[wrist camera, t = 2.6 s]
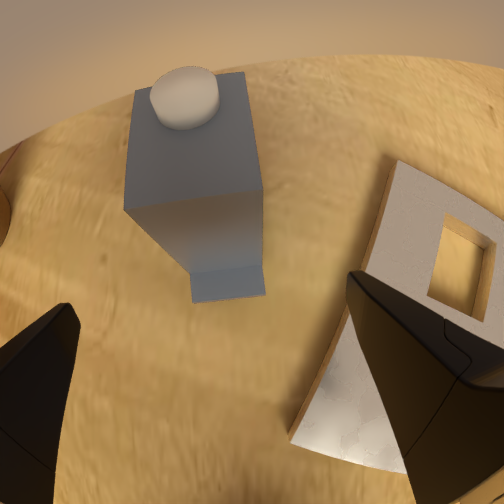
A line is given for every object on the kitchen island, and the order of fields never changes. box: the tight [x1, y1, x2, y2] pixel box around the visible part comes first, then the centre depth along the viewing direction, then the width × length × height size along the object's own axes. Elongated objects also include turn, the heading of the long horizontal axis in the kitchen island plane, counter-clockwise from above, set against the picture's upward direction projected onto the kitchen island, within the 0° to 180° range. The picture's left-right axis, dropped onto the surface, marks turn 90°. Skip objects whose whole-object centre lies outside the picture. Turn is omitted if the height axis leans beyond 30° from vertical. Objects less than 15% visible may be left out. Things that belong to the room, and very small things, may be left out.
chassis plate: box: [287, 160, 504, 474], centre depth 19 cm, size 22×16×2 cm
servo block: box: [124, 66, 266, 304], centre depth 16 cm, size 9×4×14 cm, turn 7°
